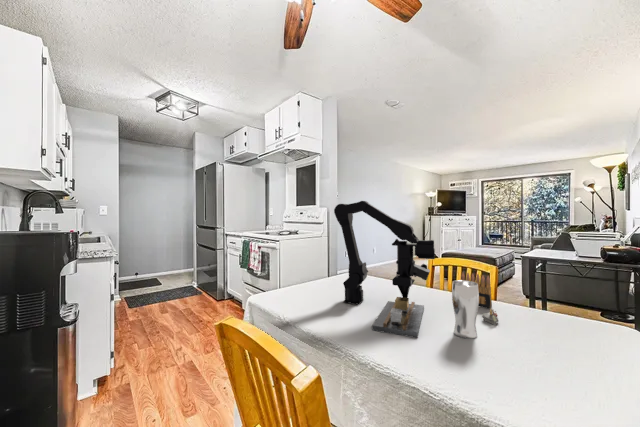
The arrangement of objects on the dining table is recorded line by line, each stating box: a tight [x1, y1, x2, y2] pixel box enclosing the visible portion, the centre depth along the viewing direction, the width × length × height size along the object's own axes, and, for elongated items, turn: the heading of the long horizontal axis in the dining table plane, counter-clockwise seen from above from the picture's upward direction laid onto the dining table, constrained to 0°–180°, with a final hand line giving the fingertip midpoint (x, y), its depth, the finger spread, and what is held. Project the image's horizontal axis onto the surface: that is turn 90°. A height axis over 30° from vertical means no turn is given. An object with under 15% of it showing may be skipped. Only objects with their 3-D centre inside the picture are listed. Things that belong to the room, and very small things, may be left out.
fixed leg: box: [391, 308, 402, 324], centre depth 87 cm, size 3×3×4 cm
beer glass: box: [451, 279, 479, 340], centre depth 82 cm, size 7×7×15 cm
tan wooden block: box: [394, 296, 410, 310], centre depth 97 cm, size 4×4×3 cm
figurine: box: [481, 306, 499, 325], centre depth 91 cm, size 5×4×6 cm
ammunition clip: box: [460, 271, 493, 310], centre depth 108 cm, size 11×2×12 cm, turn 44°
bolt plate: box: [371, 301, 425, 339], centre depth 94 cm, size 13×25×2 cm, turn 156°
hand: (405, 299), depth 105 cm, fingers closed
